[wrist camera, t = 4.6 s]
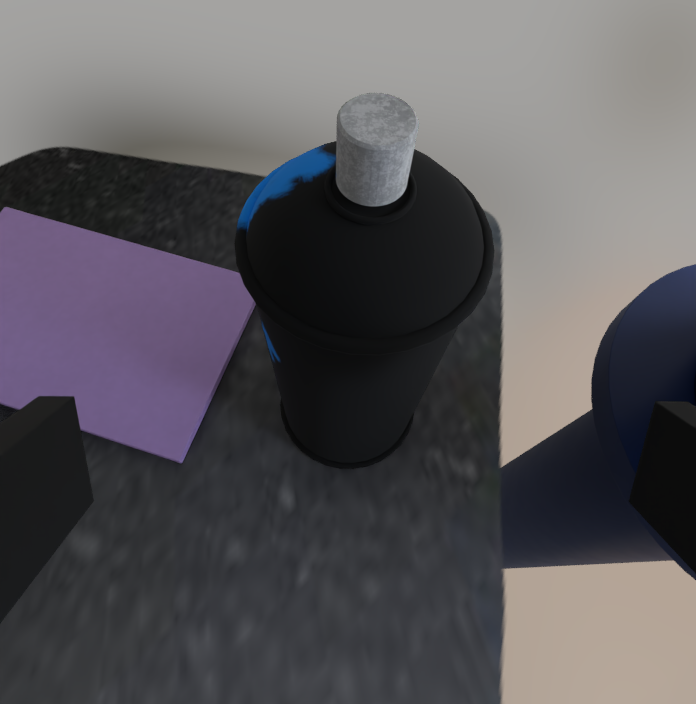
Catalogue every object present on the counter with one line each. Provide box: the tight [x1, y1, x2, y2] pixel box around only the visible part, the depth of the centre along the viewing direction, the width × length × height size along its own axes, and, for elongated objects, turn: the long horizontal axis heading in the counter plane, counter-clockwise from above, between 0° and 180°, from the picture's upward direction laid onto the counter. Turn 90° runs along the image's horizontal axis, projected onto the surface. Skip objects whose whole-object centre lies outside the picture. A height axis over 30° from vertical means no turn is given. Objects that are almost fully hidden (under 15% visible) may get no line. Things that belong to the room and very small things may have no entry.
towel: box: [0, 207, 256, 463], centre depth 31 cm, size 20×13×1 cm, turn 73°
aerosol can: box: [235, 93, 494, 469], centre depth 20 cm, size 8×8×20 cm
